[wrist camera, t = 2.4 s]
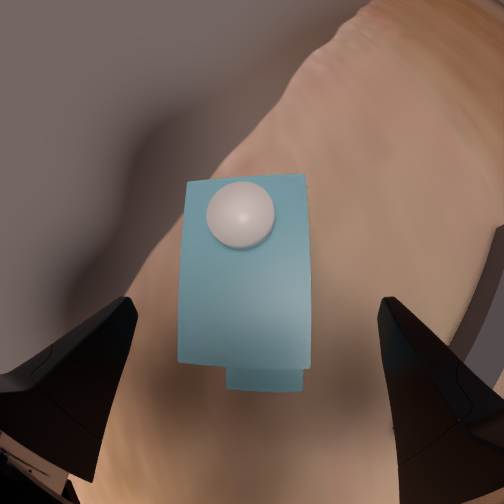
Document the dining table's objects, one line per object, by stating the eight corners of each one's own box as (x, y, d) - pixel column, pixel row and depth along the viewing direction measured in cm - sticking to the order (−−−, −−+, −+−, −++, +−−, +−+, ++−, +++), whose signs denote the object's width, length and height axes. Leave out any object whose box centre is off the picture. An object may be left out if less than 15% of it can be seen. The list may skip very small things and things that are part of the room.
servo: (301, 376, 16) (306, 451, 6) (240, 374, 17) (173, 438, 7) (299, 212, 19) (299, 106, 8) (242, 215, 19) (190, 117, 9)
